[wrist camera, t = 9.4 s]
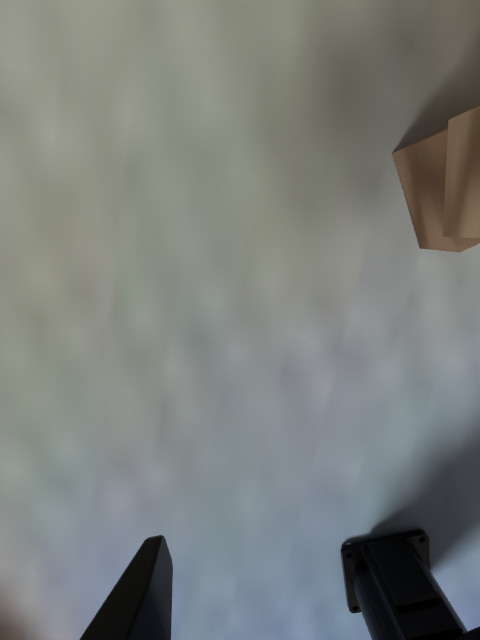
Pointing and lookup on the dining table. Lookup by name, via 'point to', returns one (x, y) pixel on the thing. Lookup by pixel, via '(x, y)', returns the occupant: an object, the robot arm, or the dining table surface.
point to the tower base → (428, 191)
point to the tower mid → (463, 176)
